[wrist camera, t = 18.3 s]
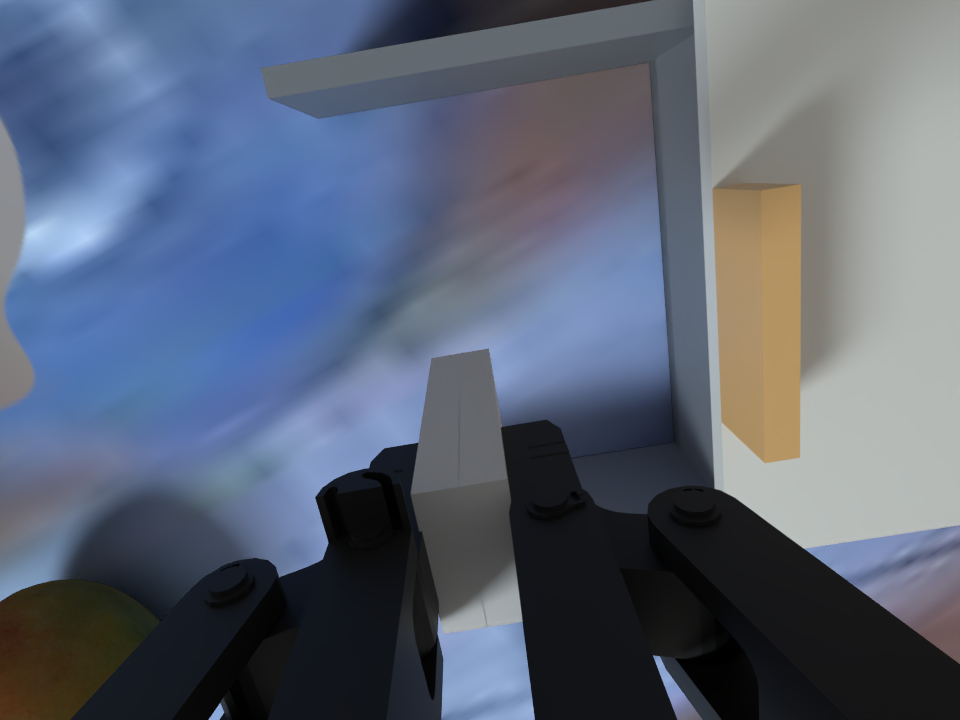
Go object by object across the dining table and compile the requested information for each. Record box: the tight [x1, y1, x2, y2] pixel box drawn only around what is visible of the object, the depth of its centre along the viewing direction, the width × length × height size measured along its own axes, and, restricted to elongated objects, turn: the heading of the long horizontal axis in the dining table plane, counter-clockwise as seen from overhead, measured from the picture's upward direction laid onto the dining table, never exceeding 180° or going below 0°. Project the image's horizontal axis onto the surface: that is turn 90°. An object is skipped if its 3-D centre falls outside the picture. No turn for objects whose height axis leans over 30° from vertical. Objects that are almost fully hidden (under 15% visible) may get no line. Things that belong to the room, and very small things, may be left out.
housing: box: [261, 0, 715, 514], centre depth 27 cm, size 22×33×8 cm, turn 99°
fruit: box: [0, 579, 160, 720], centre depth 32 cm, size 12×13×10 cm
